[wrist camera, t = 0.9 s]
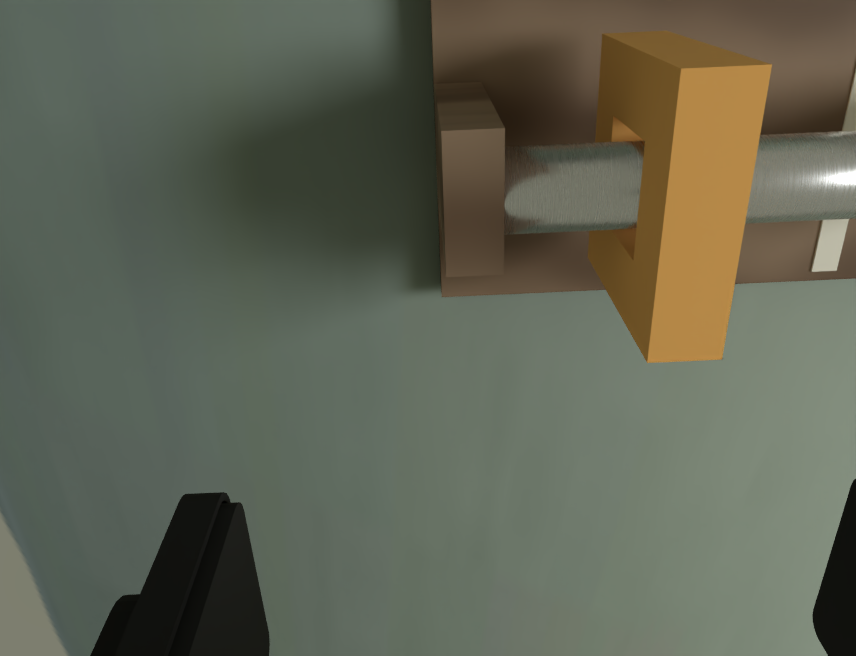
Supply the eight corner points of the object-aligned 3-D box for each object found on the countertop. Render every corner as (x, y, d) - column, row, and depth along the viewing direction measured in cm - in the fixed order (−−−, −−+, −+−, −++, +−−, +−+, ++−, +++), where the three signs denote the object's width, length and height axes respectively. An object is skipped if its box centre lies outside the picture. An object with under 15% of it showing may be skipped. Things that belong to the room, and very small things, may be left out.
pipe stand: (428, -49, 30) (435, -49, 20) (1039, -78, 30) (1332, -91, 20) (440, 284, 37) (450, 400, 27) (934, 262, 37) (1116, 370, 27)
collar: (602, 33, 27) (681, 68, 19) (666, 30, 27) (771, 64, 19) (587, 257, 31) (647, 362, 23) (643, 254, 31) (721, 359, 23)
